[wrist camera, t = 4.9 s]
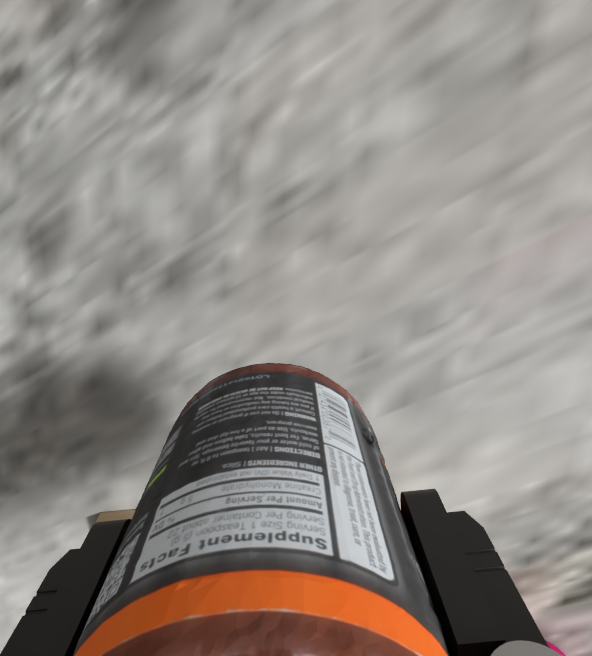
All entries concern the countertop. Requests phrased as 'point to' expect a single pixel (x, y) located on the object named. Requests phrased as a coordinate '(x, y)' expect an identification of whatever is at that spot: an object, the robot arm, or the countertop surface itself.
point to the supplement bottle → (267, 534)
